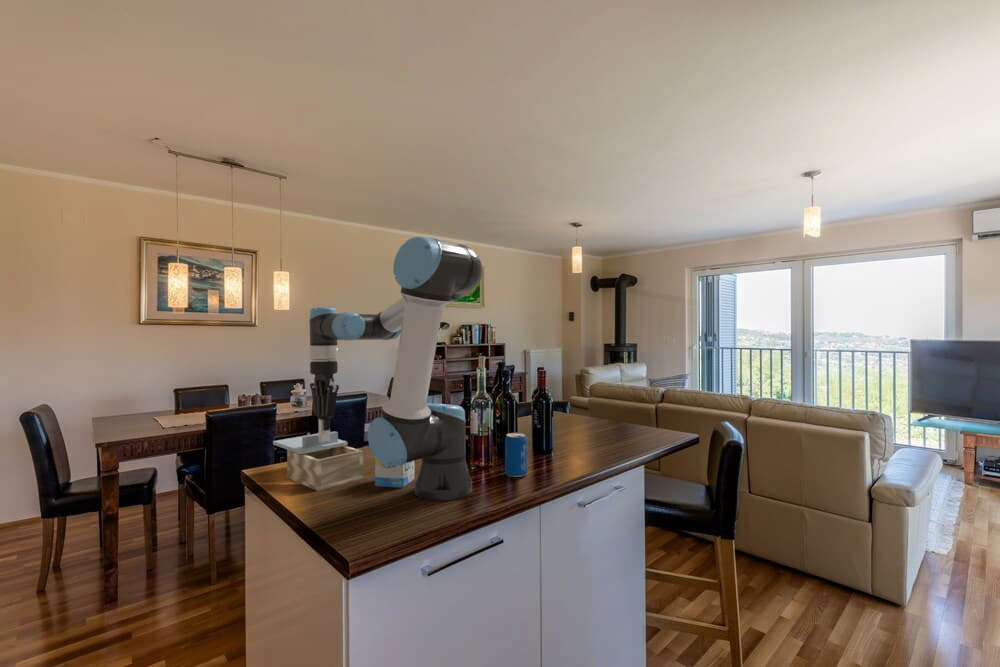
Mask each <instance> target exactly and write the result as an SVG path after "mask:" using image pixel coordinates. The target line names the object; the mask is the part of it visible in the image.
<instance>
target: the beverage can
mask: <svg viewBox="0 0 1000 667" xmlns="http://www.w3.org/2000/svg"><path fill="white" fill-rule="evenodd" d="M505 436H506V437H505V438H504V473H505V475H506V476H507V477H509V476H513V477H520V476H524V475H525V476H526V475H527V474H528V438H527V436H526V434H525V433H524V432H523V433H522V432H510V433H507V434H506V435H505ZM525 476H524V477H525Z"/></svg>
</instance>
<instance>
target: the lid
mask: <svg viewBox="0 0 1000 667" xmlns="http://www.w3.org/2000/svg"><path fill="white" fill-rule="evenodd" d="M272 445H274V446H277V447H279V448H282V449H285V450H290V451H293V452H295V453H298V454H305V453H310V452H315V451H320V450H325V449H330V448H335V447H340V446H348V441H346V440H342V439H339V432H338V431H330V441H325V442H319V433H313V434H307V435H302V436H300V435H299V436H296V437H295V436H294V437H290V438H289V437H288V438H284V439H278V440H273V441H272Z"/></svg>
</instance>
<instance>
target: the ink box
mask: <svg viewBox="0 0 1000 667" xmlns="http://www.w3.org/2000/svg"><path fill="white" fill-rule="evenodd" d="M374 460H375V461H374V462H375V463H374V465H375V466H374V467H375V468H374V470H375V471H374V478H375V479H374V486H375V487H383V488H384V487H386V488H401V489H403V488H404V487H406V486H407V485H408V484H410V483H411V482H412V481H414V480H415V461H412V462H408V463H405V464H404V465H396V466H391V467H389V466H385V465H383V464H381V463H380V462H379V461H378V460H377V459H376V458H375V457H374Z"/></svg>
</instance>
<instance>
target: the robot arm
mask: <svg viewBox="0 0 1000 667" xmlns="http://www.w3.org/2000/svg"><path fill="white" fill-rule="evenodd" d="M394 257H395V258H394V260H393V266H392V268H393V269H392V271H393V272H392V273H393V275H394V280H395V282H396V283H397V284H398V285H399V286H400V287H401V288H400V292H399V293H400V295H401V296H402V297H401V298H399V299H398V300H397V301H395V302H393V303H392V304H391V305H389V306H387V307H386V308H385V309H382V310H381V311H380V312H379V313H375V314H374V313H373V314H372V313H371V314H370V313H368V314H367V313H356V312H342V313H338V311H337V309H336V308H334V307H326V306H325V307H323V306H322V307H313V308H311V309H310V311H309V320H308V321H309V359H310V360H311V361H310V363H309V364H310V365H309V373H310V374H311V375H314V382H313V383H312V382H311V383H309V387H310V391H311V398H312V404H313V405H312V406H313V412H314V413H313V414H314V416H316V418H317V420H318V434H319V442H325V441H330V432H331V419H332V418H334V417H335V413H336V406H337V397H338V392H339V389H340V386H339V384H335V377H334V374H335V375H336V374H337V373H338V370H339V369H338V367H339V366H338V365H339V364H338V361H337V359H338V351H339V348H338V341H363V340H364V341H365V340H369V341H370V340H371V341H372V340H373V341H375V340H378V341H379V340H380V341H382V340H383V341H389V340H395V339H397V338H399V342H398V350H397V355H396V361H395V368H394V373H393V374H394V375H393V380H392V387H391V393H390V398H389V399H388V400H387V401H386V402H384V403H383V404H382V408H381V414H380V417H376V418H374V419H373V420H372V421H371V422H370V423H369V425H368V429H367V440H368V441H367V442H368V446H369V449H370V450H371V453H372V454H373V455H372V456H374V459H375V458H376V459H377V460H378V461H379V462H380V463H381V464H383V465H385V466H389V467H391V466H396V465H404V464H405V463H408V462H412V461H414V462H416V461H419V460H420V461H421V463H420V466H419V471H418V473H417V478H416V480H415V483H414V494H415V496H417V497H418V498H420V499H423V500H427V501H437V502H438V501H439V502H440V501H450V500H451V501H452V500H453V501H454V500H457V499H462V498H465V497H466V496H468V495H470V494H471V493H472V491H473V480H472V478H471V476H470V472H469V471H470V470H469V468H468V465H467V462H466V423H467V420H466V412H465V411H466V410H465V409H464V407H462V406H460V405H455V404H448V403H447V404H446V403H435V402H434V403H433V402H432V403H431V402H429V403H427V401H428V396H429V391H430V385H431V379H432V378H431V377H432V373H433V369H434V368H433V367H434V361H435V355H436V350H437V346H438V345H437V343H438V338H439V332H440V328H441V320H442V315H443V310H444V308H445V307H446V306H447V305H448V304H450V303H451V301H459V300H460V299H462V298H465V297H466V296H467V295H469V294H470V293H472V292H473V291H474V290H475V289H476V288H477V287H478V285H479V284H480V283H481V282H480V281H482V280H481V279H482V276H483V265H482V260H481V259H480V256H479V255H478V254H477V252H476V251H474V249H472V248H470V247H469V246H467V245H464V244H459V243H455V242H454V243H453V242H450V241H446V240H442V239H437V238H434V237H427V236H413V237H411V238H408V240H406V241H405V242H404V243H403V244H401V245H400V247H399V248H398V250H397V252H396V254H395V256H394Z"/></svg>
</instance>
